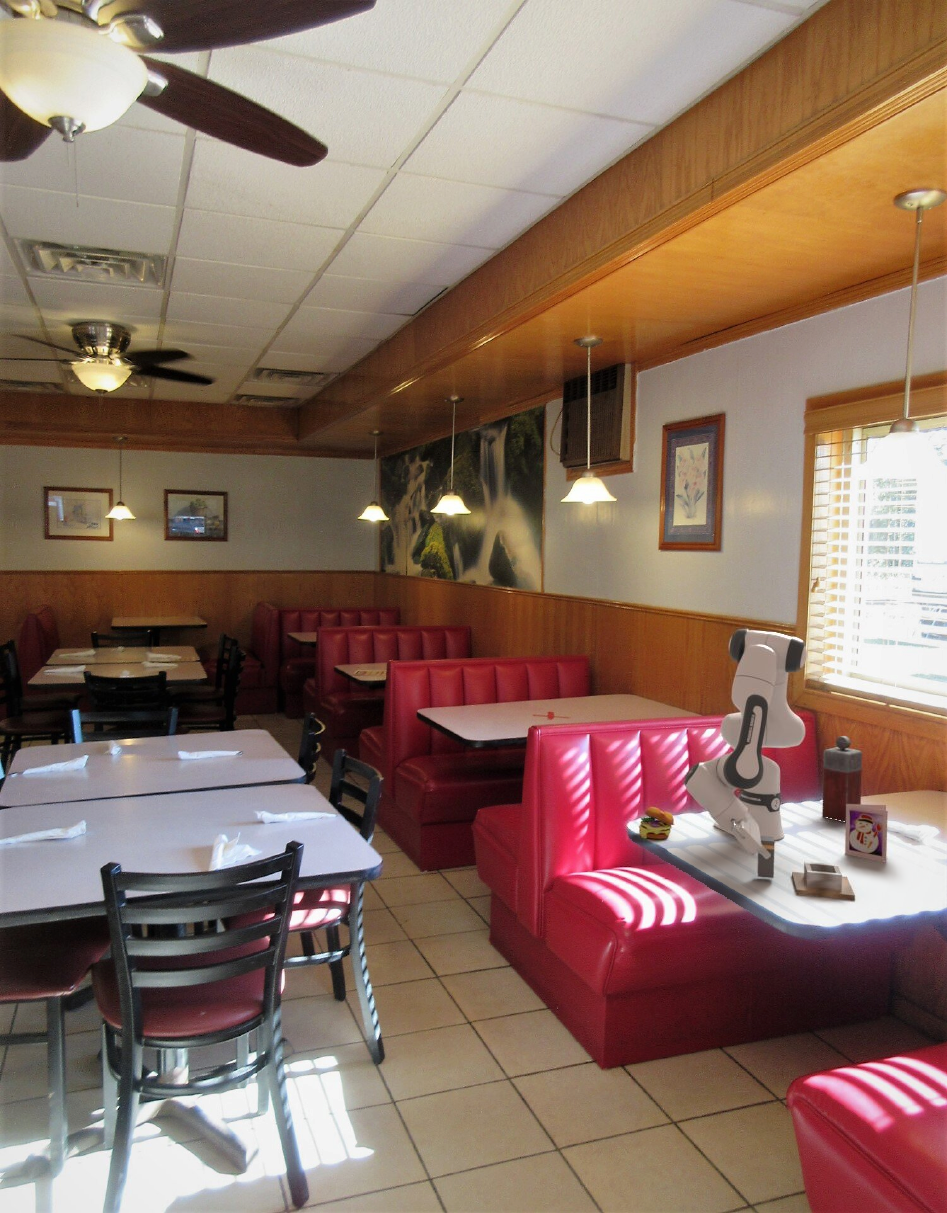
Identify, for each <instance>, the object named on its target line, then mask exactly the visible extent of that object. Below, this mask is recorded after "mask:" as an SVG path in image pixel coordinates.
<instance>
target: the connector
mask: <svg viewBox="0 0 947 1213" xmlns="http://www.w3.org/2000/svg"><path fill="white" fill-rule="evenodd" d="M760 838H761V844H762V845H763V847H764V848H765V849H767V850H768V851H769V852H770V854H771V857H769V858H768V859H765V858H764V857H763V856H762V855H761V854H760V853H758V852H757V865H756V866H757V868H756V870H757V877H760V878H771V879H774V875H775V872H774V871H775V869H774V868H775V843H776V842H775V841H776V840H774V837H768V836H760Z"/></svg>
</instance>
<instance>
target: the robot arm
mask: <svg viewBox="0 0 947 1213" xmlns="http://www.w3.org/2000/svg"><path fill="white" fill-rule="evenodd" d="M728 654H729V657H730V658H731V660H732V661H734V662H735V663H737V664H738V665H737V667H736V668H737V669H736V671H735V675H734V678H733V682H732V687H731V701H732V704H733V705H734V706H735V708H737V709H738V710H739V712H735V713H734V712H733V713H729V714H727V715H724V716H725V717H724V718H723V719H722V721H721V723H720V734H721V737H722V739H723V740H724V741H725V743H727V745H729V746H730V747H731V748H732V752H729V753H724V754H722V755H720V756H718V757H716V758H714V759H710V760H707V761H702V762H699V761H698V762H696V763H695V764H693V765H692V767H690V768H689V770H688V771H687V772H686V774H685V776H684V779H683V784H684V787H685V789H686V790H687V792H688V793H689V794H690V796H692V798H693V799H694V800H695V801H696V803H698V805H700V806H701V807H702V808H704V809H705V810H706V811H707V812H708V814H709V816H710V817H711V818H712V819H713V820H714V821H715V822H714V824H713V826H714V827H715V828H718V829H720V830H722V831H724V832H725V833H728V834H730V835H732V836H734V838H735V839H736V840H737V842H739V844H740V845H741V846H742V847H743V848H744V849H745V850H746V851H747V853H748V854H750V855H753V856H754V855H755V854H756V853H757V854H758V853H760V854H761V855H762V856H763V857H764V858H765V859H768V858H769V857H771V854H770V852H769V851H768V850H767V849H765V848H764V847H763V845H762V844H761V838H760V836H768V837H774V841H777V840H781V839H783V838H784V837H785V833H784V829H783V824H782V815H781V804H782V791H781V789H780V788H781V784H780V783H781V770H780V766H779V764H777V762H776V761H774V760H772V759H771V758H769V757H766V756H764V755H763V754H762V748H772V749H773V748H774V749H775V748H778V749H784V748H785V749H786V748H791V747H798V746H799V745H800V744H801V743H802V742H803V741H804V738H805V737H806V726H805V723H804V721H803V720H802V719H801V717H799V716H798V715H797V714H795V712H793V710H791V708H790V706H789V704H788V699H787V694H788V693H787V690H788V679H789V673H797V672H799V671H801V670H802V668H803V666H804V665H805V664H806V661H807V658H808V651H807V646H806V643H805V642H804V640H802V639H801V638H799V637H796V636H789V635H786V634H782V633H779V632H774V631H763V630H752V629H751V630H750V629H749V628H739V629H737V630H736V631H734V632H733V633H732V636H731V637H730V638H729V642H728ZM735 791H736V794H739V795H738V797H737V796H736V795H735Z"/></svg>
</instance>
